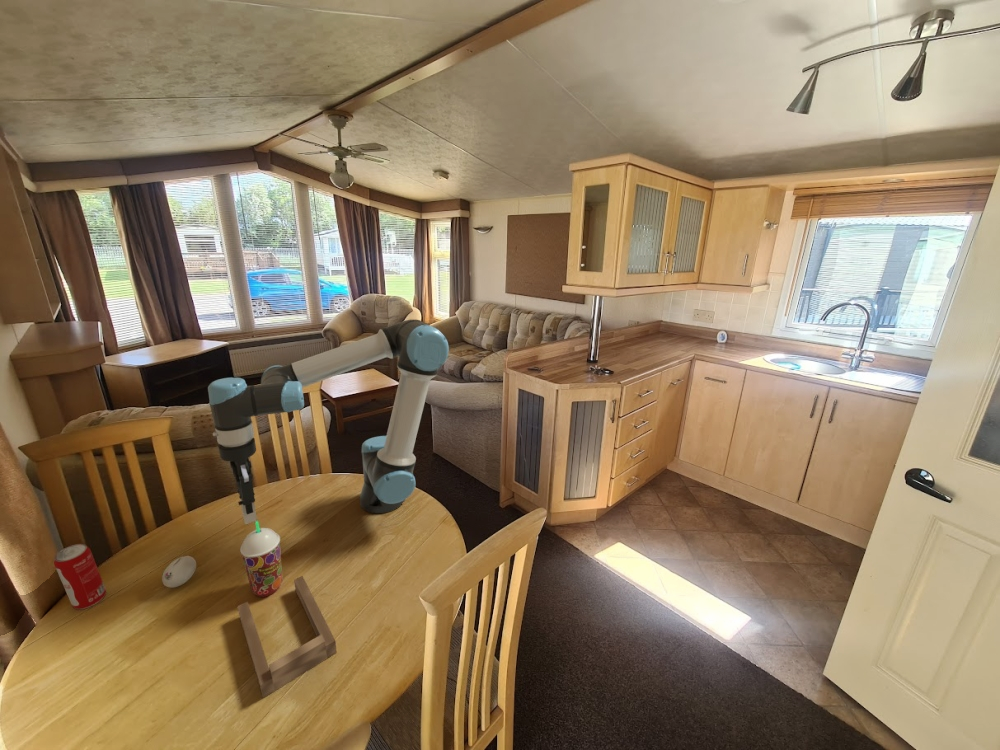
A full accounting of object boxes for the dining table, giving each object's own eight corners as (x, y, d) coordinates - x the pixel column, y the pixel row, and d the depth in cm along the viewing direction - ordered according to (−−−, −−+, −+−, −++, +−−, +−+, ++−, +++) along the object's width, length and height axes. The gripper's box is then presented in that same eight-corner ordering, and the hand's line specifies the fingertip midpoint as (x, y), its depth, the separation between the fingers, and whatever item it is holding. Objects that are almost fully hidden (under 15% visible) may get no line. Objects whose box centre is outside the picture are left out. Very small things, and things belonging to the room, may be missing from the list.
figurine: (181, 571, 103) (175, 550, 101) (205, 570, 103) (200, 549, 101) (158, 596, 95) (152, 574, 93) (184, 595, 96) (178, 574, 94)
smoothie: (270, 605, 95) (258, 536, 89) (240, 597, 96) (226, 530, 90) (294, 578, 102) (284, 513, 96) (266, 572, 104) (255, 508, 98)
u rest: (304, 586, 100) (301, 570, 99) (336, 652, 84) (334, 635, 83) (239, 617, 91) (236, 601, 90) (263, 698, 75) (259, 679, 74)
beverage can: (106, 586, 98) (90, 536, 93) (107, 602, 93) (90, 551, 89) (71, 599, 94) (53, 548, 89) (70, 617, 89) (51, 565, 85)
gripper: (213, 434, 98) (229, 514, 105) (222, 455, 89) (238, 541, 96) (248, 427, 103) (261, 503, 110) (260, 446, 94) (272, 528, 101)
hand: (250, 520), depth 103 cm, fingers closed
